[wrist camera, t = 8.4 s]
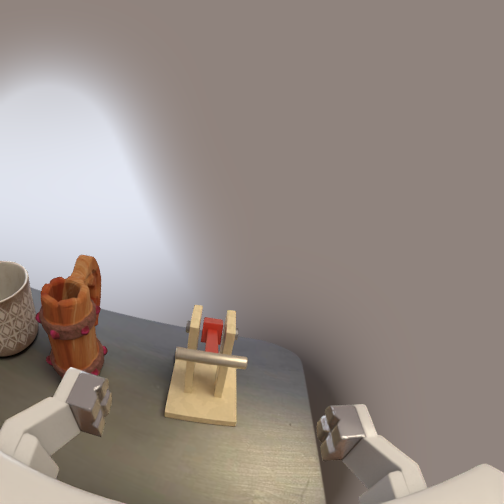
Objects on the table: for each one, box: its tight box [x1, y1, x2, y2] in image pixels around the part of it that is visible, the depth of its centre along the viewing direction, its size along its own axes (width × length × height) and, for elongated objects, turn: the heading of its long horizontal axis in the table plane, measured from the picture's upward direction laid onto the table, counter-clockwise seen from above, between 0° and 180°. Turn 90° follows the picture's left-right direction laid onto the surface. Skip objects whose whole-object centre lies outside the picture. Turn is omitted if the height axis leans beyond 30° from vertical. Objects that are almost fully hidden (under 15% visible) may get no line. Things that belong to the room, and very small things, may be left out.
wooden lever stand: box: [165, 305, 238, 427], centre depth 35 cm, size 12×9×13 cm
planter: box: [0, 261, 38, 356], centre depth 31 cm, size 13×13×10 cm
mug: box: [35, 255, 107, 379], centre depth 33 cm, size 15×8×15 cm, turn 5°
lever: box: [175, 317, 247, 369], centre depth 29 cm, size 12×6×2 cm, turn 2°
